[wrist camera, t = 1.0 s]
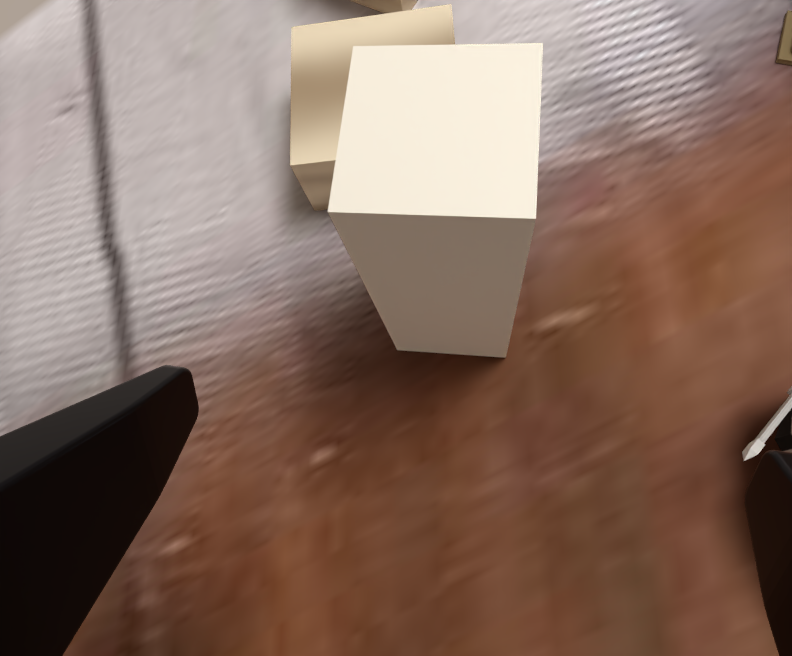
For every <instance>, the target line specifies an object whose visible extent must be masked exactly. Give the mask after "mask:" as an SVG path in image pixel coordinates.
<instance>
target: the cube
mask: <svg viewBox="0 0 792 656" xmlns="http://www.w3.org/2000/svg"><path fill="white" fill-rule="evenodd" d="M350 1H353V2H355V3H358V4H361V5H363V6H366V7H369V8H371V9H374V10H377V11H379V12H382V13H385V14H386V13H393V12H400V11H407V10H412V8H413V7H414V5H415V4H416V2H417V1H418V0H350Z"/></svg>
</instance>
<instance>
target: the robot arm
mask: <svg viewBox="0 0 792 656" xmlns="http://www.w3.org/2000/svg"><path fill="white" fill-rule="evenodd" d="M198 410H199V407H198V401H197V396H196V392H195V387H194V382H193V378H192V374H191V372H190V371H189V370H188V369H187V368H185V367H178V366H171V365H165V366H161V367H159V368H157V369H154V370H152V371H150V372H147V373H145V374H143V375H141V376H138V377H136V378H134V379H131V380H129V381H127V382H124V383H122V384H120V385H117V386H115V387H113V388H111V389H108V390H106V391H104V392H101V393H99V394H97V395H94V396H92V397H90V398H88V399H85V400H83V401H81V402H78V403H76V404H74V405H71V406H69V407H67V408H65V409H62V410H60V411H58V412H55V413H53V414H51V415H48V416H46V417H44V418H41V419H39V420H37V421H35V422H32V423H30V424H28V425H25V426H23V427H21V428H18V429H16V430H14V431H12V432H9V433H7V434H5V435H2V436H0V656H62V655H63V654H64V652H65V650H66V649H67V647H68V646H69V644H70V642H71V641H72V639H73V637H74V636H75V634H76V632H77V631H78V629H79V628H80V626H81V624H82V623H83V621H84V619H85V618H86V616H87V615H88V613H89V611H90V610H91V608H92V606H93V605H94V603H95V601H96V600H97V598H98V597H99V595H100V593H101V592H102V590H103V588H104V587H105V585H106V583H107V582H108V580H109V579H110V577H111V575H112V574H113V572H114V570H115V569H116V567H117V566H118V564H119V562H120V561H121V559H122V557H123V556H124V554H125V552H126V551H127V549H128V548H129V546H130V544H131V543H132V541H133V539H134V538H135V536H136V534H137V533H138V531H139V530H140V528H141V526H142V525H143V523H144V521H145V520H146V518H147V517H148V515H149V513H150V512H151V510H152V508H153V507H154V505H155V503H156V501H157V500H158V498H159V496H160V495H161V493H162V491H163V489H164V487H165V485H166V483H167V481H168V479H169V477H170V474H171V472H172V470H173V468H174V466H175V464H176V462H177V460H178V458H179V456H180V453H181V451H182V449H183V447H184V445H185V443H186V441H187V439H188V437H189V434H190V432H191V430H192V428H193V426H194V424H195V422H196V419H197V416H198ZM745 507H746V513H747V518H748V523H749V529H750V534H751V539H752V545H753V550H754V556H755V561H756V566H757V572H758V577H759V582H760V588H761V593H762V597H763V602H764V606H765V610H766V613H767V617H768V620H769V624H770V627H771V630H772V634H773V637H774V640H775V643H776V646H777V650H778V653H779V656H792V452H785V451H778V450H769V451H767V452H765V453H764V454H763V456H762V458H761V460H760V462H759V464H758V466H757V468H756V470H755V472H754V474H753V477H752V479H751V481H750V483H749V485H748V487H747V490H746V494H745Z"/></svg>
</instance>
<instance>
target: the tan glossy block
mask: <svg viewBox="0 0 792 656" xmlns="http://www.w3.org/2000/svg"><path fill="white" fill-rule="evenodd" d="M390 45H455V39H454V28H453V18H452V7H451V4H449V5H442V6H435V7H428V8H421V9H414V10H407V11H400V12H393V13H386V14H379V15H372V16H365V17H358V18H351V19H344V20H337V21H330V22H323V23H316V24H309V25H302V26H295V27H292V38H291V129H290V166H291V168H292V170H293V172H294V174H295V175H296V177H297V179H298V181H299V183H300V185H301V186H302V188H303V190H304V192H305V194H306V196H307V198H308V199H309V201H310V203H311V205H312V207H313V209H314V210H315V211H318V210H327V209H328V206H329V200H330V193H331V187H332V180H333V174H334V167H335V161H336V154H337V148H338V141H339V135H340V128H341V122H342V115H343V109H344V103H345V96H346V90H347V83H348V77H349V70H350V64H351V57H352V51H353V46H390Z"/></svg>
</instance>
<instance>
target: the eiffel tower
mask: <svg viewBox="0 0 792 656" xmlns="http://www.w3.org/2000/svg"><path fill="white" fill-rule="evenodd" d="M776 63H780V64H787V65H792V11H787V13H786V15H785V19H784V24H783V29H782V34H781V39H780V44H779V49H778V54H777V59H776Z"/></svg>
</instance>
